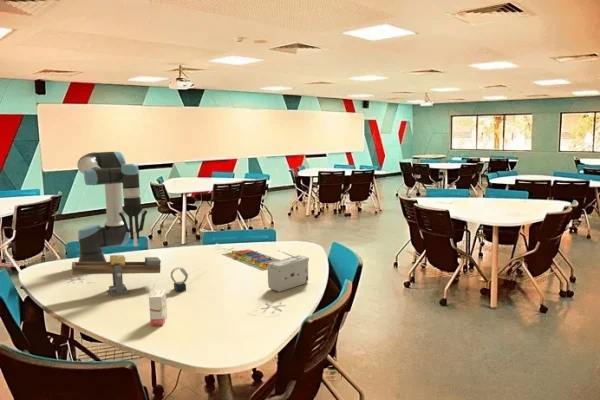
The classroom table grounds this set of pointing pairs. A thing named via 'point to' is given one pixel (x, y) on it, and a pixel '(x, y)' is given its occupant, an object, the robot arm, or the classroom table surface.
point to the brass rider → (117, 260)
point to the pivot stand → (118, 283)
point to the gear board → (252, 258)
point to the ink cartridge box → (157, 306)
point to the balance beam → (103, 268)
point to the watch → (181, 285)
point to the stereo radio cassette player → (288, 273)
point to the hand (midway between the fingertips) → (135, 245)
